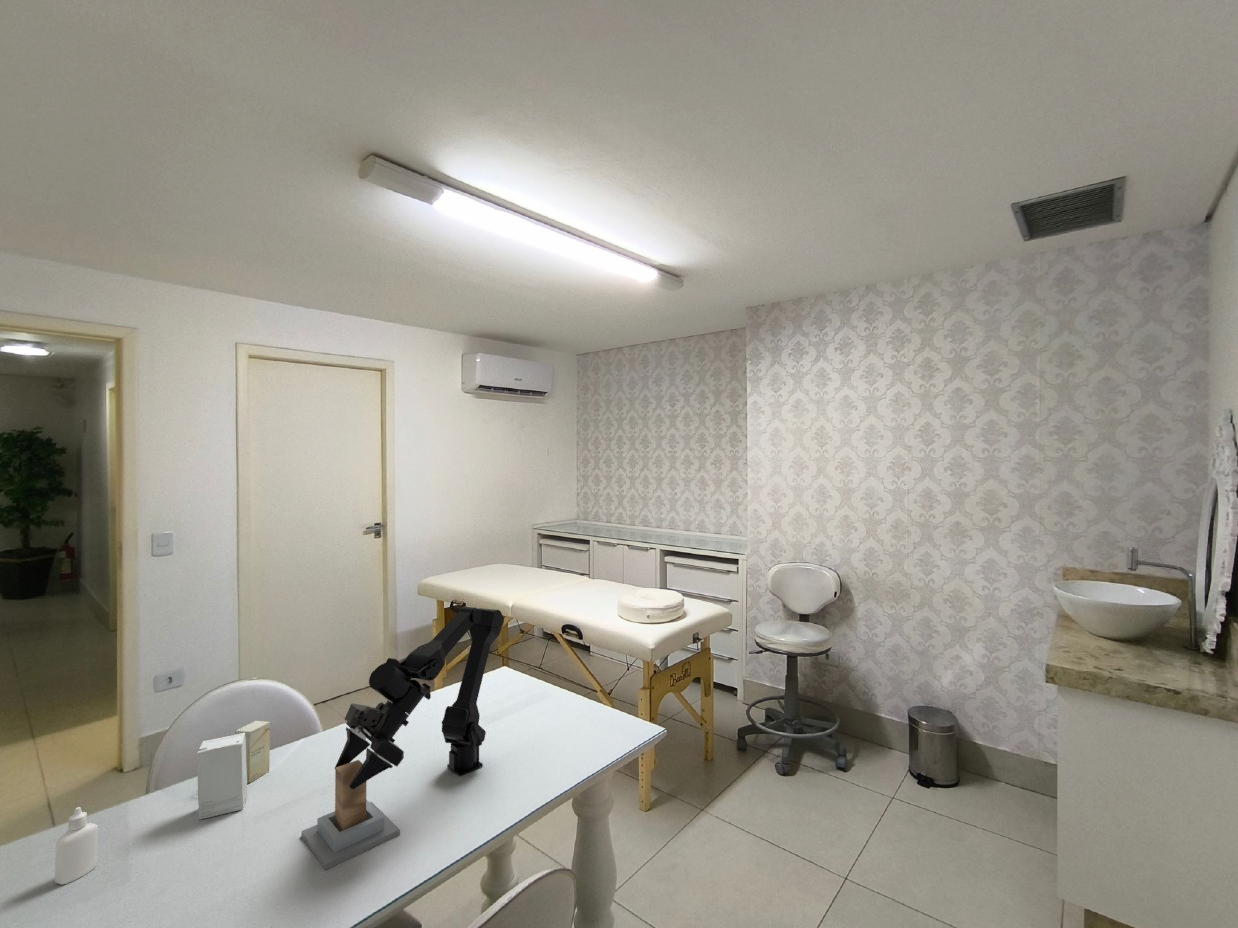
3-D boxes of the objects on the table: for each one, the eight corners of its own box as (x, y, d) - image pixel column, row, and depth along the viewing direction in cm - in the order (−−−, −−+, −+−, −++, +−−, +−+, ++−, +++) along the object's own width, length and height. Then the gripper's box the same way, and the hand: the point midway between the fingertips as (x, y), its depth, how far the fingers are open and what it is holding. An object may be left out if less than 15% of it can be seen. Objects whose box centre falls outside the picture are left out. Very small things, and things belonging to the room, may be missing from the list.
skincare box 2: (248, 784, 131) (249, 732, 132) (233, 782, 132) (233, 730, 132) (270, 770, 137) (271, 721, 138) (255, 768, 138) (256, 719, 139)
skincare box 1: (247, 797, 126) (248, 730, 126) (242, 811, 120) (243, 742, 121) (202, 806, 122) (203, 738, 123) (195, 821, 117) (196, 750, 117)
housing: (371, 806, 122) (371, 790, 122) (399, 834, 112) (399, 816, 112) (301, 835, 112) (301, 818, 112) (325, 869, 102) (325, 850, 102)
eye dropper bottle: (55, 876, 101) (56, 809, 101) (97, 861, 105) (98, 796, 105) (54, 888, 98) (55, 819, 98) (98, 872, 102) (99, 806, 102)
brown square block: (358, 820, 115) (358, 759, 116) (366, 830, 112) (366, 767, 112) (335, 829, 112) (335, 767, 112) (342, 840, 109) (342, 775, 109)
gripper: (356, 676, 122) (299, 743, 114) (388, 700, 109) (326, 778, 101) (392, 702, 127) (340, 768, 120) (426, 728, 114) (370, 804, 106)
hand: (343, 778), depth 111 cm, fingers open, 9 cm apart
